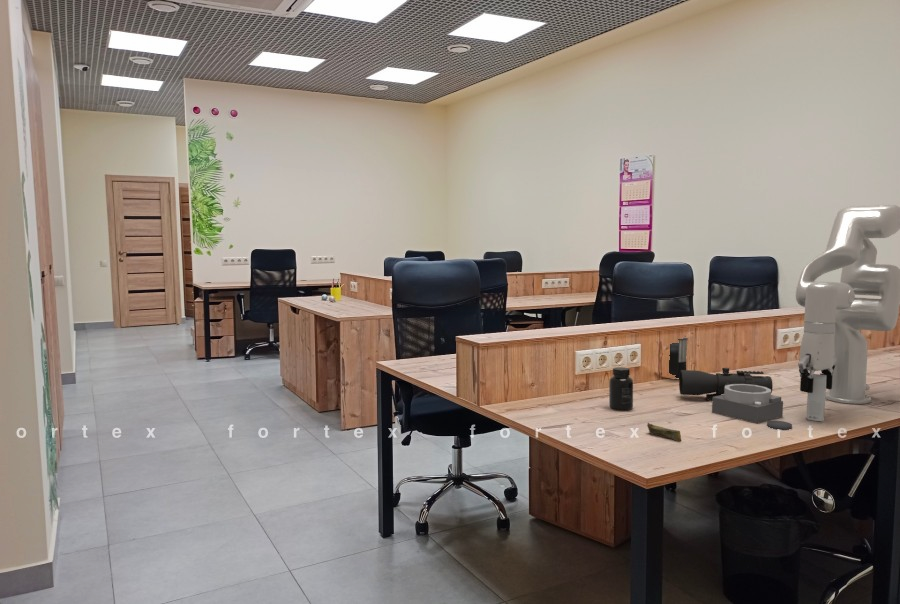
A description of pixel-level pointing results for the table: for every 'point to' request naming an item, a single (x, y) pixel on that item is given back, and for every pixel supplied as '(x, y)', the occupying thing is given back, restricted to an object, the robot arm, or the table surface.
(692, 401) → the table surface
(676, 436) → the snack bar
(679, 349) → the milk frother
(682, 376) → the rifle scope
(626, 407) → the supplement bottle
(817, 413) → the skincare box
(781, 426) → the lens cap
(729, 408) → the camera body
